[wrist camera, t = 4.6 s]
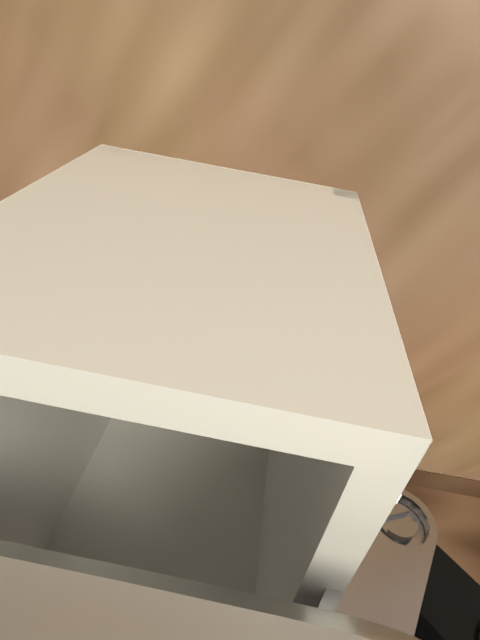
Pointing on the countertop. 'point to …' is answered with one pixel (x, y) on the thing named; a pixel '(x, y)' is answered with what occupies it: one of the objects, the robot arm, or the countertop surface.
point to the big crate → (452, 515)
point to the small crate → (199, 374)
